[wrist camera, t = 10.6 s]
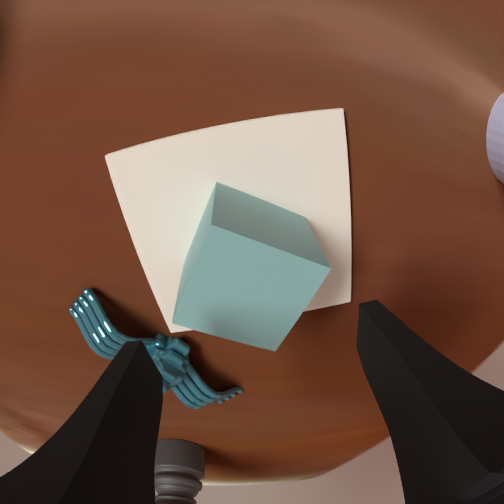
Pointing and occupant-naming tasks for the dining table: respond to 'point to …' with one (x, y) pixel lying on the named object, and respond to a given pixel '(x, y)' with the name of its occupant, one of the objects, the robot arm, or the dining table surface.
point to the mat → (243, 179)
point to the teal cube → (248, 270)
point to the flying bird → (159, 347)
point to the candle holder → (178, 471)
